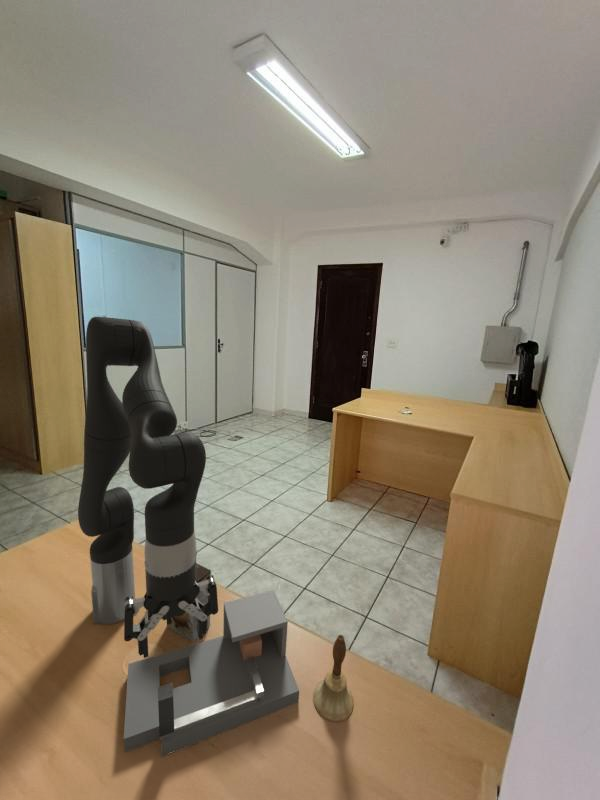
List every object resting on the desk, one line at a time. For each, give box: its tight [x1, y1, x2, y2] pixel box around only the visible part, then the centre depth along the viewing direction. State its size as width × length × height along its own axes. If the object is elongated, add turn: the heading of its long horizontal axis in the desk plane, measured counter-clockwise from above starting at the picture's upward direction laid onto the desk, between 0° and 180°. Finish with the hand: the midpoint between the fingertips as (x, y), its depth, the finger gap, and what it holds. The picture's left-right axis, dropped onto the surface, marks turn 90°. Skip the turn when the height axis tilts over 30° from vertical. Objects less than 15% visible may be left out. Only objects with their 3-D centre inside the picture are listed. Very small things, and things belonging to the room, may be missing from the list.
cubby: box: [123, 589, 300, 757], centre depth 72 cm, size 32×18×12 cm, turn 113°
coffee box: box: [166, 562, 212, 643], centre depth 85 cm, size 9×6×16 cm
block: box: [240, 634, 262, 660], centre depth 78 cm, size 4×4×4 cm
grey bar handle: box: [158, 656, 264, 741], centre depth 67 cm, size 19×8×9 cm, turn 113°
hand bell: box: [313, 634, 355, 723], centre depth 70 cm, size 8×8×16 cm
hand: (173, 643), depth 58 cm, fingers open, 8 cm apart
